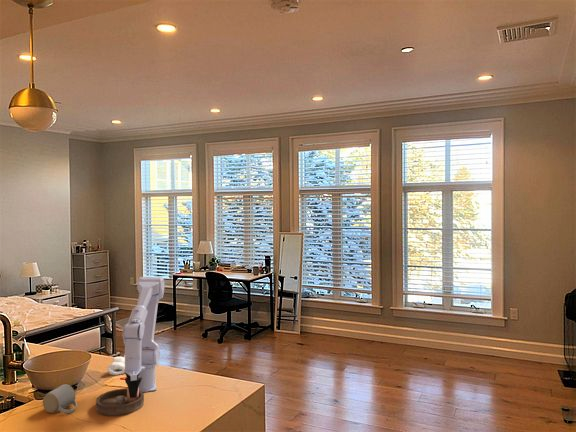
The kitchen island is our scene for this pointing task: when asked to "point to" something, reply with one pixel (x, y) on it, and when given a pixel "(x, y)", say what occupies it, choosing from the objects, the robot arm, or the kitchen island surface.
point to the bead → (132, 398)
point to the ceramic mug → (60, 399)
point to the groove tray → (117, 403)
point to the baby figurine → (117, 366)
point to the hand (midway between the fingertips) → (132, 393)
